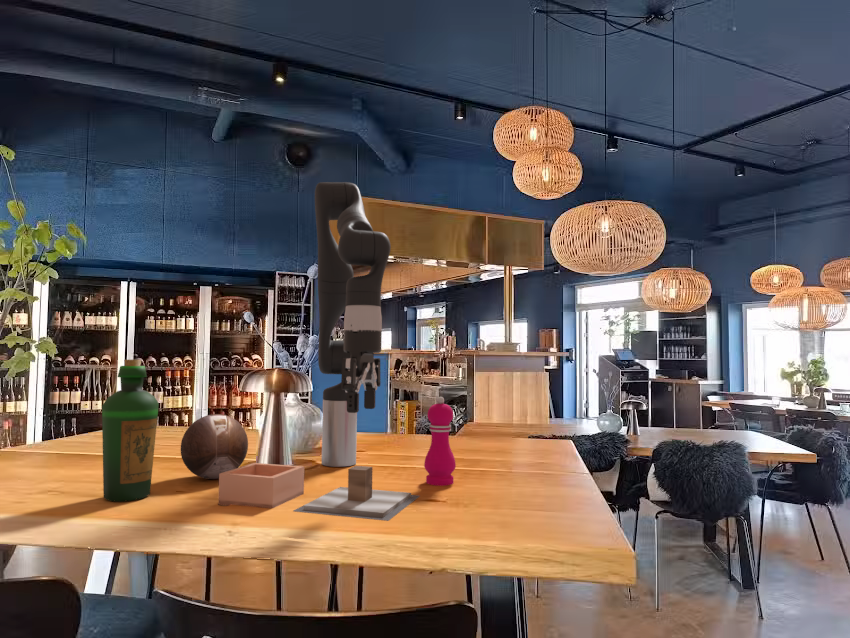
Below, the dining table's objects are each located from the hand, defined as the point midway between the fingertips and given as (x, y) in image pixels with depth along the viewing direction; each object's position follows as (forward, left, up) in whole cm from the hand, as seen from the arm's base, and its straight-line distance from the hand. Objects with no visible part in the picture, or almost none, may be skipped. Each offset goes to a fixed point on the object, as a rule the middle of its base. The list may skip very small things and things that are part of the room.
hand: (361, 410), depth 115 cm
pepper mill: (-23, +10, -19) cm, 31 cm away
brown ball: (-11, -42, -19) cm, 47 cm away
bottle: (+10, -47, -19) cm, 52 cm away
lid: (0, 0, -18) cm, 18 cm away
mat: (0, 0, -18) cm, 18 cm away
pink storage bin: (+3, -20, -18) cm, 27 cm away
